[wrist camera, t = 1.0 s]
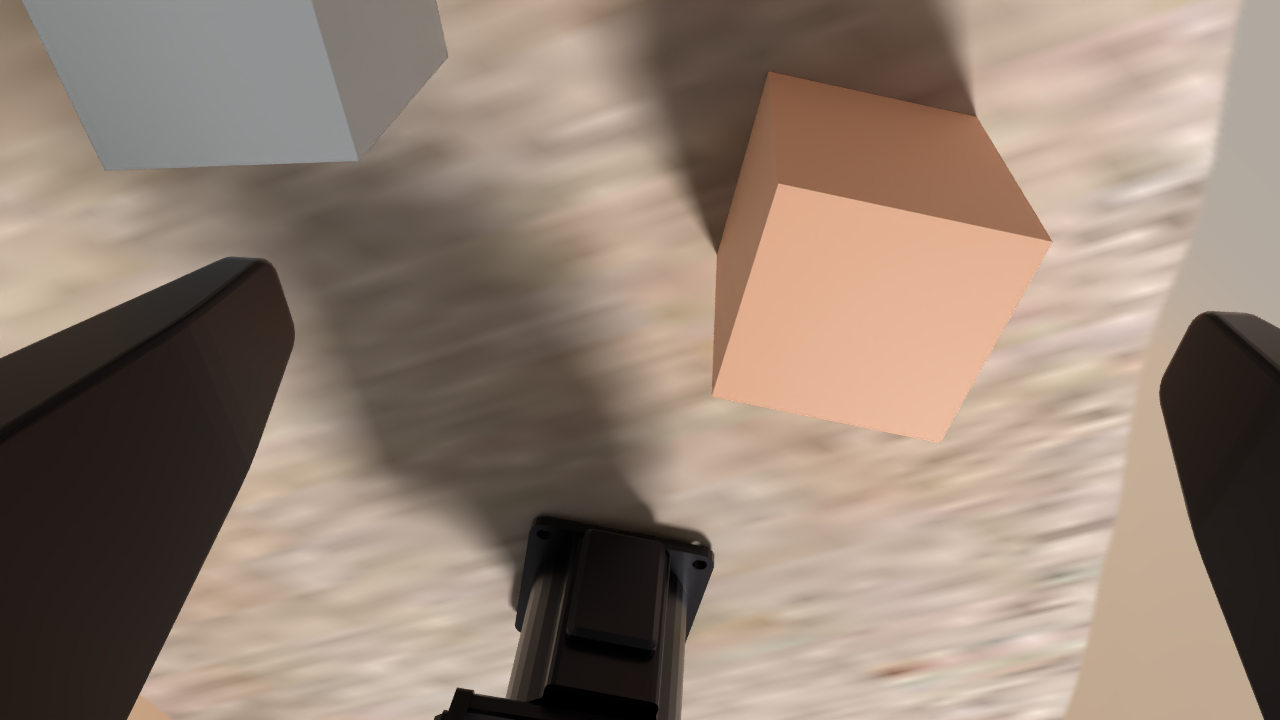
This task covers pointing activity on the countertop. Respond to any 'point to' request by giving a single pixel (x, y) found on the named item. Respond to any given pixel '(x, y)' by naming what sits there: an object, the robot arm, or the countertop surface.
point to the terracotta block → (867, 259)
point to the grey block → (238, 76)
